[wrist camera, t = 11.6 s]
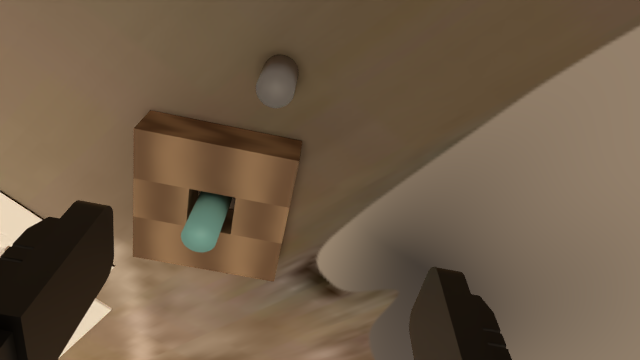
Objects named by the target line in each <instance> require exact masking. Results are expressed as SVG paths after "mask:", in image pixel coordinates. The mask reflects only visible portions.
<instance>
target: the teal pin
mask: <svg viewBox="0 0 640 360" xmlns="http://www.w3.org/2000/svg"><path fill="white" fill-rule="evenodd" d="M232 198H233V197H230V196H224V195H219V194H214V193H209V192H203V191H201V193H200V195H199V197H198V199H197V201H196V203H195V205H194V207H193V209H192V211H191V214H190V216H189V218H188V220H187V222H186V224H185V226H184V228H183V230H182V233H181V240H182V242H183V244H184V245H185V246H186V247H187V248H189V249H190V250H192V251H195V252H208V251H210V250H212V249H213V248H214V247H215V245H216V242H217V239H218V237H219V234H220V231H221V228H222V226H223V223H224V220H225V217H226V214H227V212H228V209H229V206H230V203H231V200H232Z"/></svg>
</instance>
